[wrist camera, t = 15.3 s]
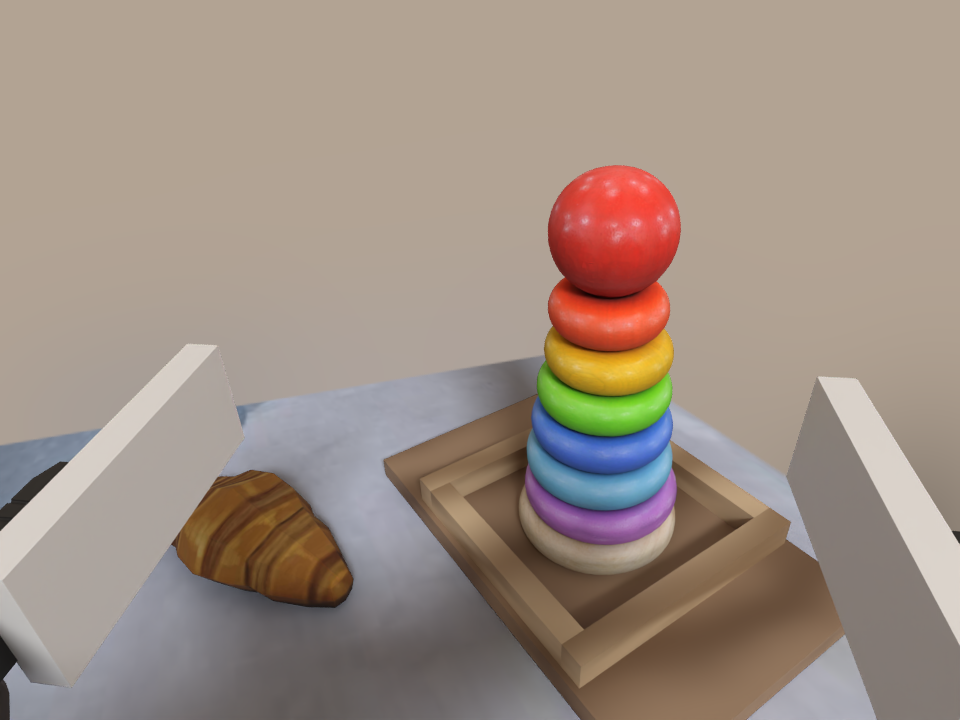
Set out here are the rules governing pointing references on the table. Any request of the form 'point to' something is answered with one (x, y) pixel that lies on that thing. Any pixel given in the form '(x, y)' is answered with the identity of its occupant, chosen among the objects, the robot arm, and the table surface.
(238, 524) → the croissant
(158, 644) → the table surface
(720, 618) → the toy stand
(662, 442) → the stacking toy
